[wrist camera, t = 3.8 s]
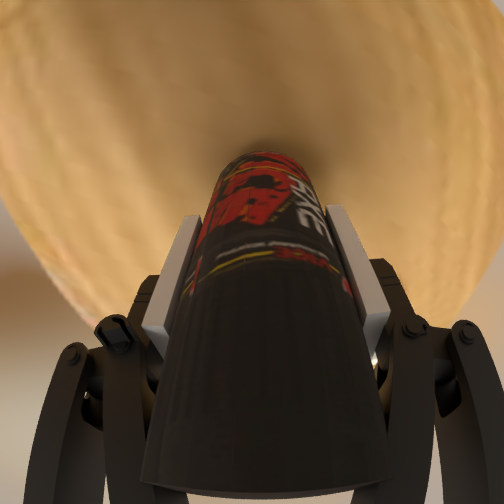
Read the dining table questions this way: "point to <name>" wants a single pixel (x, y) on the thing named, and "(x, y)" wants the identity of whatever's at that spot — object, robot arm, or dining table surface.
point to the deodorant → (266, 353)
